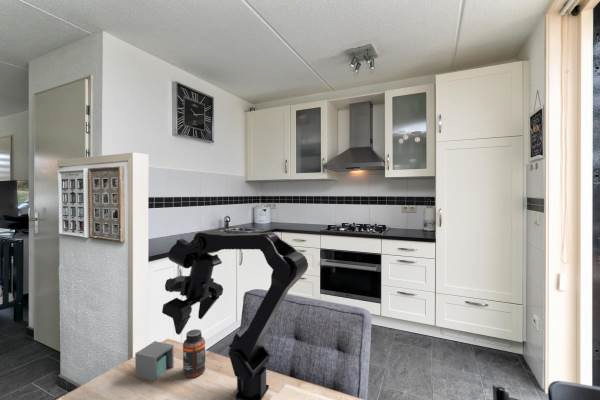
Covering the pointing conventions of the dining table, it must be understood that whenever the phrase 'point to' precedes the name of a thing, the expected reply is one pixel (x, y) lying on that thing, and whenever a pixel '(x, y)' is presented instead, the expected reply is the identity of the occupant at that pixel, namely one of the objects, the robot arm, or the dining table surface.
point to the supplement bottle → (194, 354)
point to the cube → (161, 364)
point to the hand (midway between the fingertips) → (189, 325)
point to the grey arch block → (153, 359)
